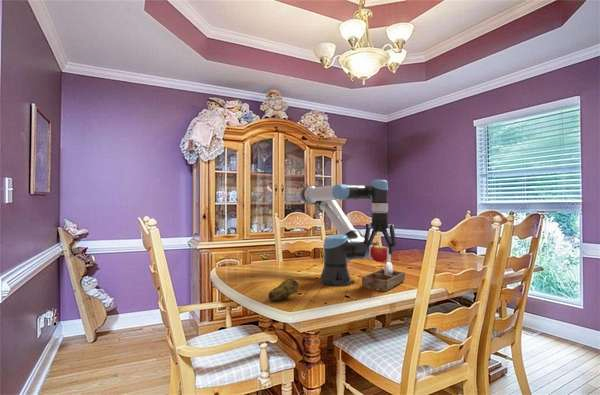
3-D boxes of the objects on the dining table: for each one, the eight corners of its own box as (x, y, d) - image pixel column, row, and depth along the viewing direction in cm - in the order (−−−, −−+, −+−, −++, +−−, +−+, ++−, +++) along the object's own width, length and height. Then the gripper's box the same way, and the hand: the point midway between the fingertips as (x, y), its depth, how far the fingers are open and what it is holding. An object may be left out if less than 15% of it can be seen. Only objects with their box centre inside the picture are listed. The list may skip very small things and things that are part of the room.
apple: (369, 259, 159) (369, 239, 159) (387, 260, 158) (387, 239, 158) (371, 263, 151) (371, 241, 151) (389, 263, 150) (390, 241, 150)
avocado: (266, 297, 136) (266, 278, 136) (296, 295, 139) (296, 276, 139) (269, 303, 128) (269, 283, 128) (301, 301, 131) (301, 281, 131)
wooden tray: (362, 287, 153) (362, 277, 153) (381, 278, 172) (381, 269, 172) (387, 291, 146) (387, 281, 146) (404, 281, 164) (404, 272, 164)
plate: (384, 281, 160) (384, 263, 160) (391, 278, 167) (391, 260, 167) (385, 281, 159) (385, 263, 159) (392, 278, 166) (392, 260, 167)
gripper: (356, 212, 158) (356, 258, 158) (398, 213, 145) (398, 263, 145) (363, 211, 164) (362, 256, 164) (404, 212, 151) (404, 261, 151)
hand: (379, 260), depth 154 cm, fingers closed on apple, 8 cm apart
